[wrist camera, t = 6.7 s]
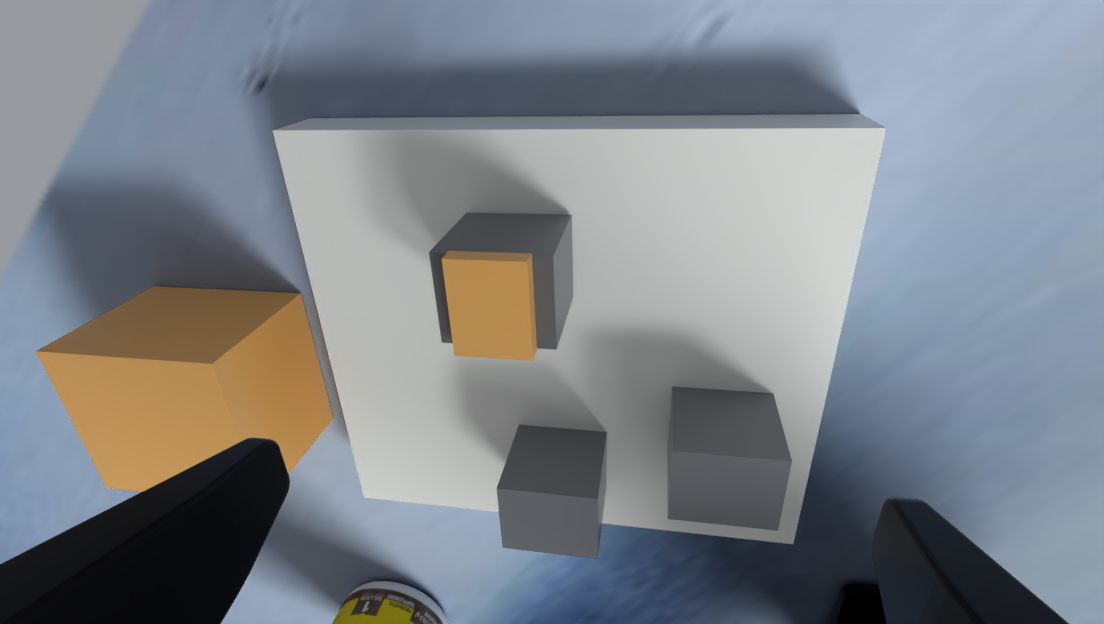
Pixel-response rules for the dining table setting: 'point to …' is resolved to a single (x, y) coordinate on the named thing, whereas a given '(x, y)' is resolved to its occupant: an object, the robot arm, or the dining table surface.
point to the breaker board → (592, 313)
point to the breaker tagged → (503, 283)
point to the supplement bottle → (389, 606)
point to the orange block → (189, 380)
